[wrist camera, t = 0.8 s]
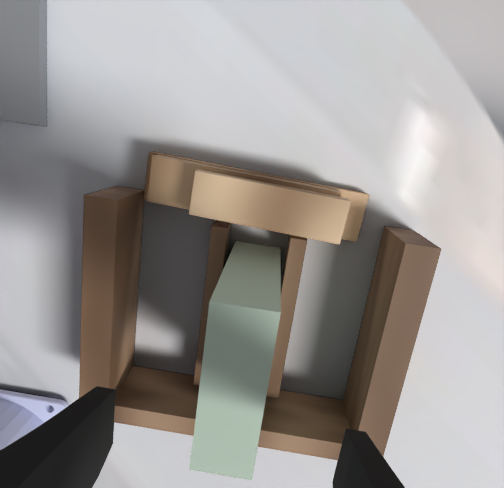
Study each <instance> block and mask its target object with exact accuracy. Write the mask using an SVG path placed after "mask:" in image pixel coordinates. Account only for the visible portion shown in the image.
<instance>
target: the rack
mask: <svg viewBox="0 0 504 488" xmlns="http://www.w3.org/2000/svg"><path fill="white" fill-rule="evenodd" d="M144 191H145V190H141V189H134V188H127V187H121V186H115V187H111V188H107V189H104V190H100V191H96V192H93V193H89V194H86V195H84V216H83V258H82V301H81V344H80V386H79V398H80V397H82V396H83V395H85V394H86V393H88V392H89V391H90V390H92V389H93V388H95V387H96V386H99V387H105V388H111V389H116V395H115V412H114V422H116V423H122V424H128V425H134V426H140V427H146V428H152V429H157V430H163V431H169V432H175V433H181V434H187V435H193V436H194V428H195V419H196V411H197V403H198V394H199V386H200V377H201V369H202V360H203V352H204V344H205V335H206V327H207V318H208V310H209V301H210V299H211V297H212V294H213V292H214V290H215V288H216V285H217V283H218V281H219V278H220V276H221V274H222V271H223V269H224V267H225V265H226V261H227V253H228V245H229V237H230V229H231V223H229V222H224V221H219V220H216V221H215V222H214V223H213V225H212V226H211V235H210V243H209V252H208V261H207V270H206V279H205V287H204V296H203V305H202V314H201V322H200V331H199V340H198V349H197V358H196V366H195V375H194V376H193V375H186V374H180V373H174V372H168V371H162V370H156V369H150V368H144V367H138V366H133V364H134V348H135V333H136V318H137V302H138V287H139V272H140V256H141V241H142V226H143V210H144ZM306 244H307V238H304V237H299V236H294V235H289V240H288V246H287V252H286V258H285V264H284V269H283V275H282V281H281V315H280V321H279V326H278V332H277V338H276V344H275V349H274V355H273V361H272V367H271V372H270V378H269V384H268V390H267V396H266V401H265V407H264V413H263V419H262V424H261V430H260V436H259V442H258V447H264V448H270V449H275V450H281V451H287V452H293V453H299V454H305V455H311V456H317V457H323V458H329V459H334V460H338V458H339V454H340V450H341V446H342V442H343V438H344V434H345V430H346V428H347V429H353V430H358V431H364V432H366V433H367V434H368V436H369V437H370V439H371V440H372V441H373V443H374V444H375V446H376V447H377V449H378V450H379V452H380V453H381V455H382V456H383V455H384V452H385V448H386V444H387V441H388V437H389V434H390V430H391V427H392V423H393V419H394V416H395V412H396V409H397V405H398V402H399V398H400V394H401V391H402V387H403V384H404V380H405V377H406V373H407V370H408V366H409V362H410V359H411V355H412V352H413V348H414V345H415V341H416V337H417V334H418V330H419V327H420V323H421V320H422V316H423V312H424V309H425V305H426V302H427V298H428V295H429V291H430V287H431V284H432V280H433V277H434V273H435V270H436V266H437V263H438V259H439V255H440V252H441V248H439V247H438V246H436V245H435V244H433V243H432V242H430V241H429V240H427V239H426V238H424V237H423V236H421V235H420V234H418V233H417V232H415V231H414V230H407V229H401V228H394V227H387V226H384V230H383V234H382V238H381V242H380V247H379V251H378V255H377V259H376V264H375V268H374V272H373V276H372V281H371V285H370V289H369V293H368V298H367V302H366V306H365V310H364V315H363V319H362V323H361V327H360V332H359V336H358V340H357V344H356V349H355V353H354V357H353V361H352V365H351V370H350V374H349V378H348V382H347V387H346V391H345V395H344V399H343V400H338V399H332V398H326V397H320V396H314V395H308V394H302V393H296V392H290V391H284V390H280V386H281V381H282V375H283V370H284V364H285V359H286V353H287V348H288V343H289V337H290V332H291V326H292V321H293V315H294V310H295V304H296V299H297V293H298V288H299V282H300V277H301V272H302V266H303V261H304V255H305V250H306Z"/></svg>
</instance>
